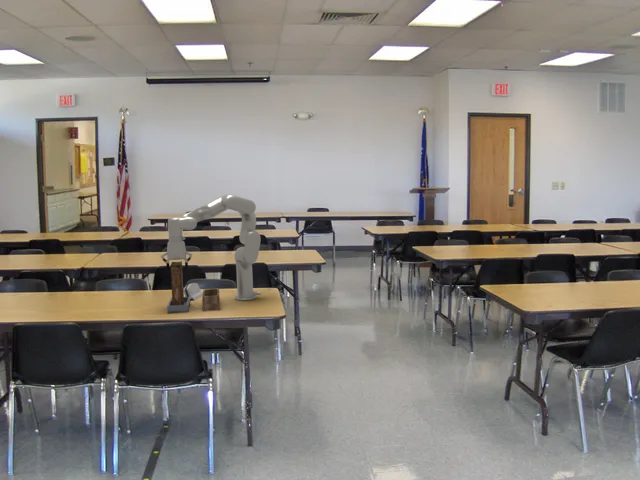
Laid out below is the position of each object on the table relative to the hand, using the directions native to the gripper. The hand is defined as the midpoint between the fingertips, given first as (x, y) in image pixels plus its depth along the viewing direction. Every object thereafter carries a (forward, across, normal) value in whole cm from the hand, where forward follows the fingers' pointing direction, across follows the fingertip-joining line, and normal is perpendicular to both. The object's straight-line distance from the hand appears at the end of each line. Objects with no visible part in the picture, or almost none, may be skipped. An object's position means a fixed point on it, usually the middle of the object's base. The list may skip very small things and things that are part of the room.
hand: (177, 269), depth 310 cm
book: (+22, 0, 0) cm, 22 cm away
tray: (+22, 0, 0) cm, 22 cm away
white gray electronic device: (+23, -6, -27) cm, 36 cm away
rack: (+22, -18, 0) cm, 29 cm away
